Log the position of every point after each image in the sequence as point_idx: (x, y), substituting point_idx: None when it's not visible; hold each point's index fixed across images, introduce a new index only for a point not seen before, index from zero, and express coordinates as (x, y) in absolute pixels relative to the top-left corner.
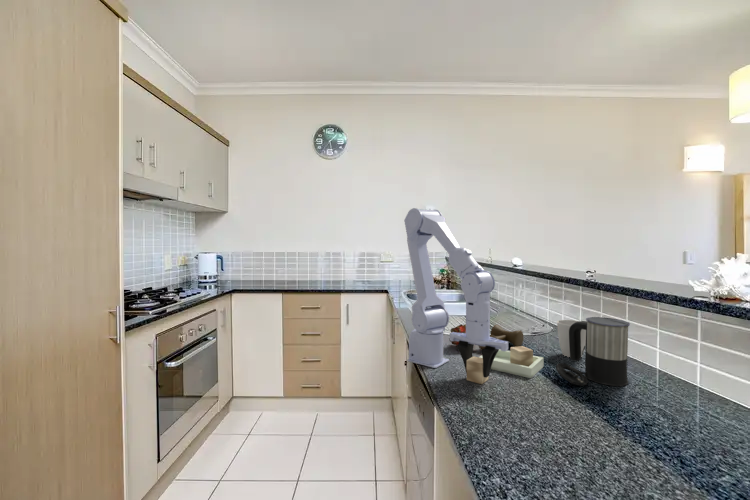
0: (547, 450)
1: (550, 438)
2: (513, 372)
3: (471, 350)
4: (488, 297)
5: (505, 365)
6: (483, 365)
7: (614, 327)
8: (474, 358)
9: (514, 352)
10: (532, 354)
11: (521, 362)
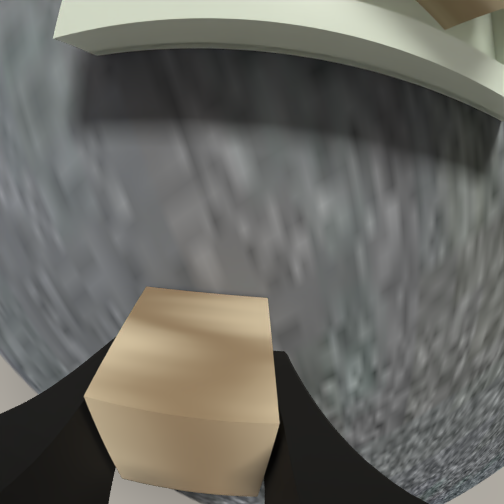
0: (428, 495)
1: (444, 478)
2: (416, 81)
3: (63, 474)
4: None
5: (370, 51)
6: (265, 476)
7: None
8: (137, 445)
9: None
10: None
11: (487, 10)
